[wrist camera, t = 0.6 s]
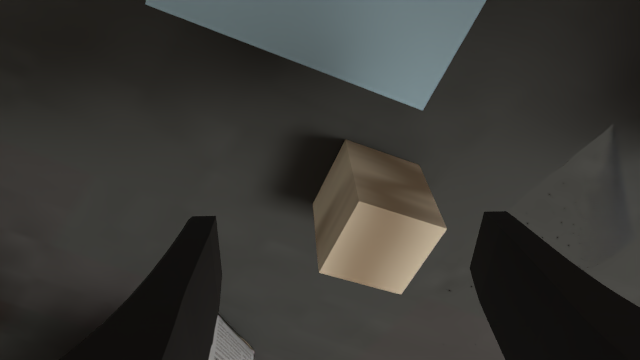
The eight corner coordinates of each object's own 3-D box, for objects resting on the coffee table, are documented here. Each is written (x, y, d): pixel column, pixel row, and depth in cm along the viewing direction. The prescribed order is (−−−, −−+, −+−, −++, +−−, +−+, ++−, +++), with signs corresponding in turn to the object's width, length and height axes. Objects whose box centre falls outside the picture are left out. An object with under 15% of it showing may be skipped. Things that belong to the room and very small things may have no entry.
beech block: (418, 164, 25) (447, 228, 21) (382, 224, 27) (401, 294, 23) (345, 138, 24) (359, 201, 20) (312, 203, 26) (318, 272, 21)
